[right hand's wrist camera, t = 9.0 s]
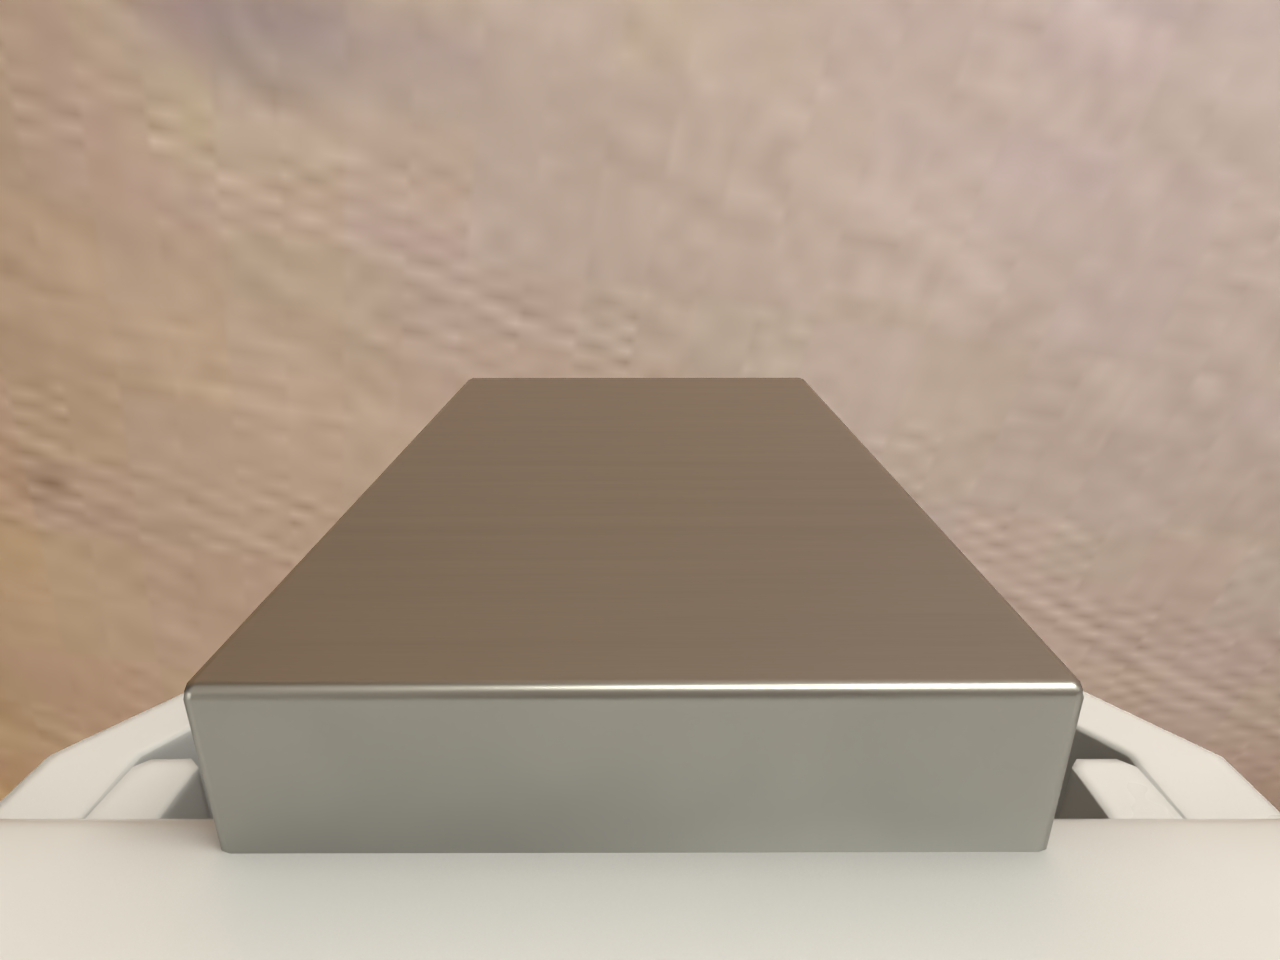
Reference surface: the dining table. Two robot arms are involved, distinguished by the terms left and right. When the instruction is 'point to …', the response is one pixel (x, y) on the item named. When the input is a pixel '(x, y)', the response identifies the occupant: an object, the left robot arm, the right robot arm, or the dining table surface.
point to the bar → (634, 647)
